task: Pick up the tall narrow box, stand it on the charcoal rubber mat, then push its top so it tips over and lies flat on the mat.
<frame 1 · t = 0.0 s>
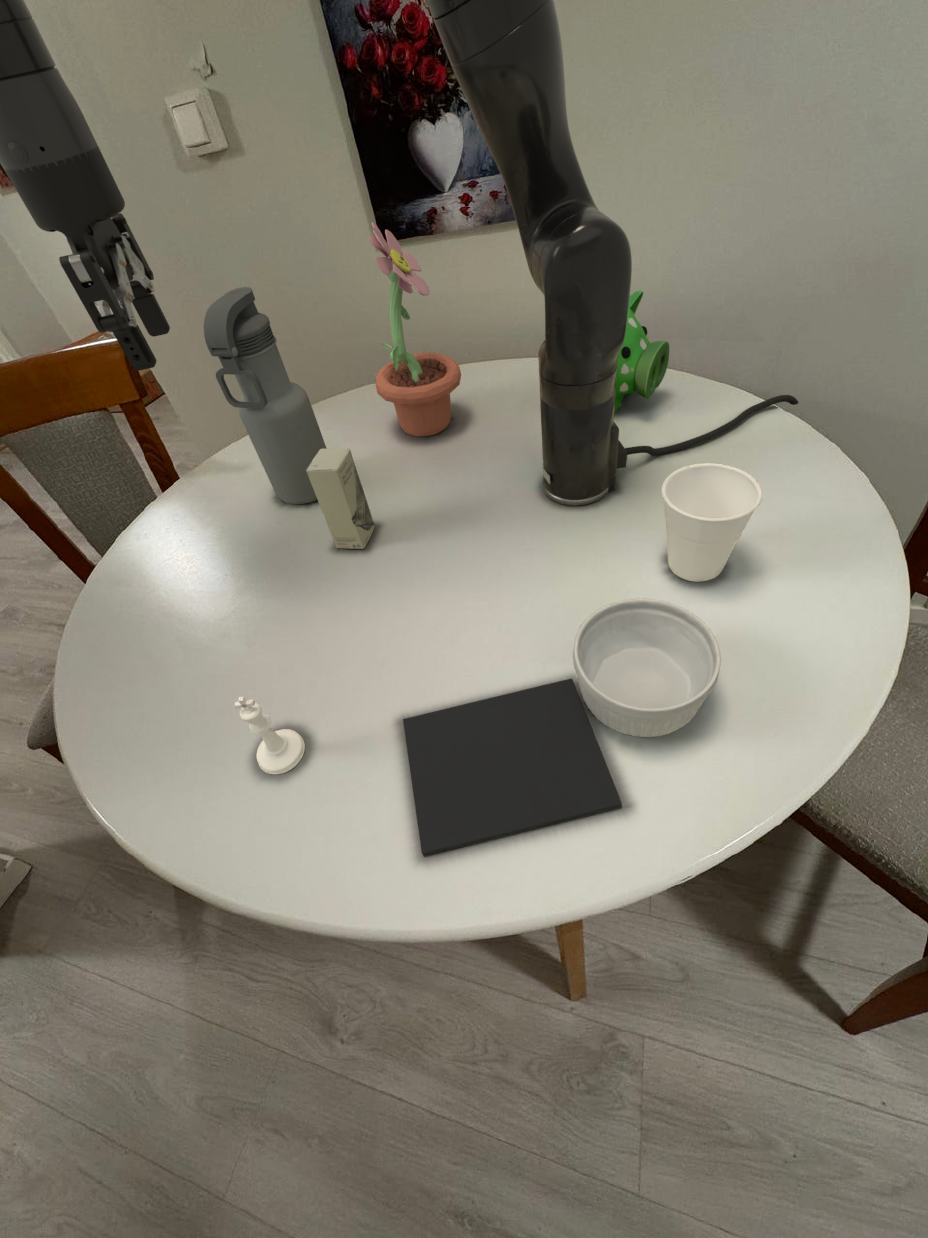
hand: (154, 349, 60), 29 cm above the table, tool pointing down, fingers open, 8 cm apart
piggy bank: (600, 401, 97), on the table
chess piece: (282, 753, 60), on the table
cup: (694, 566, 70), on the table
ramekin: (638, 693, 59), on the table
mat: (504, 761, 56), on the table
decorative flower: (427, 427, 99), on the table
box: (356, 538, 82), on the table
water bottle: (307, 489, 92), on the table
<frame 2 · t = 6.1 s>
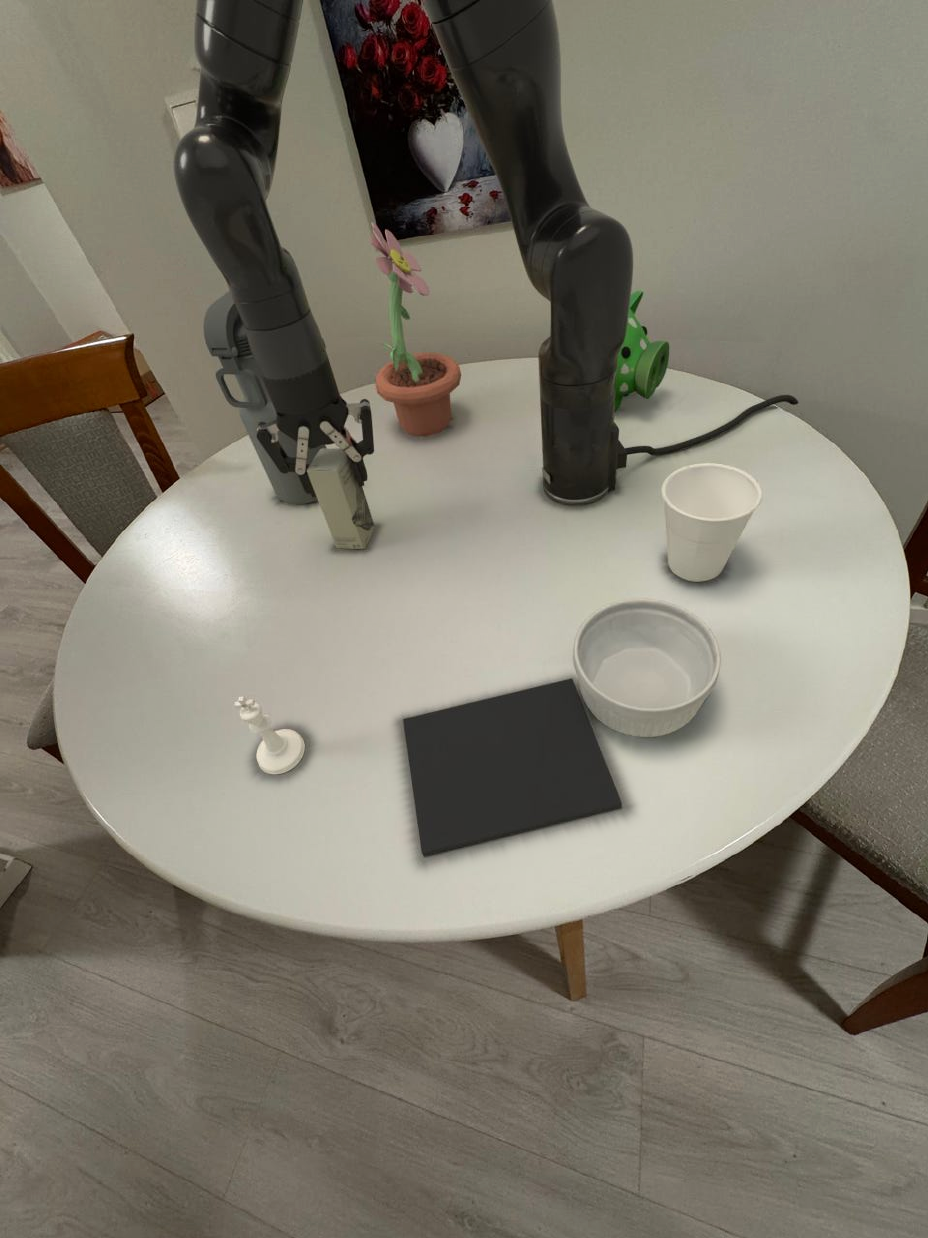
hand: (338, 487, 75), 8 cm above the table, tool pointing down, fingers closed on box, 5 cm apart
box: (356, 538, 82), on the table, touching gripper
everything else where it was.
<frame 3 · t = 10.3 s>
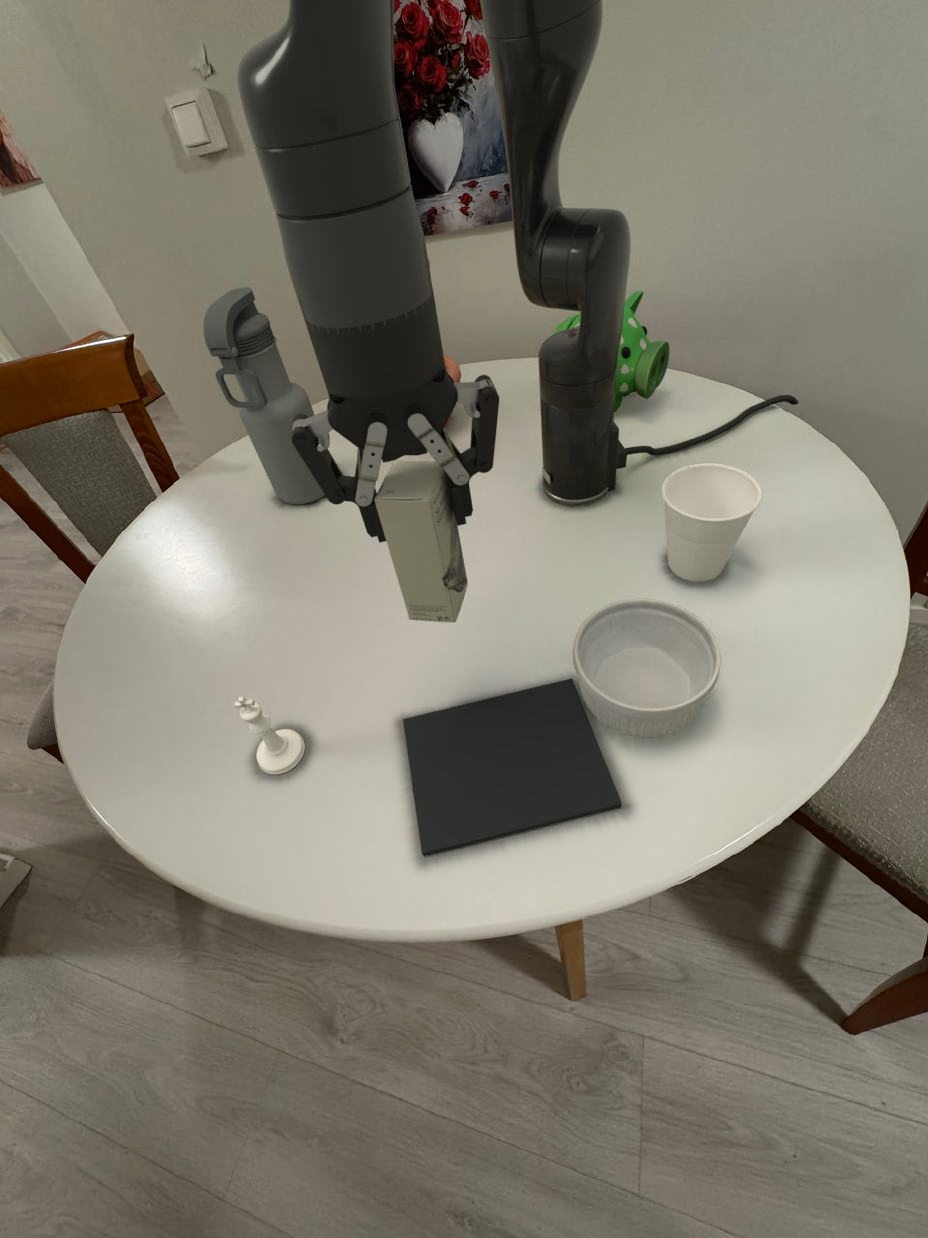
hand: (421, 526, 45), 23 cm above the table, tool pointing down, fingers closed on box, 5 cm apart
box: (439, 602, 52), point 14 cm above the table, touching gripper
everything else where it was.
when the fingers open (9 cm above the table, at t = 14.5 s): box stays where it is, resting on mat.
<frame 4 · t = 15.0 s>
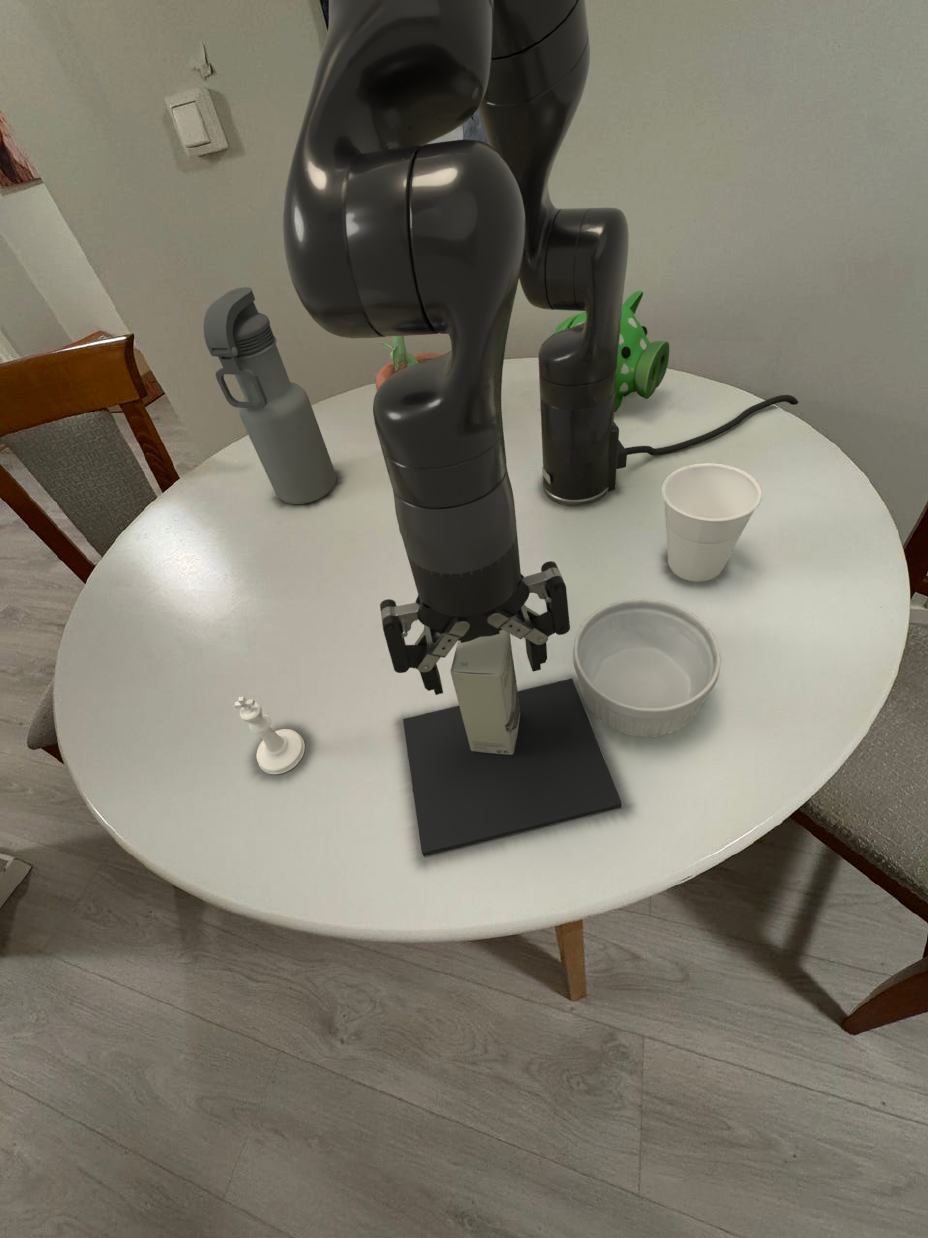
hand: (486, 674, 50), 10 cm above the table, tool pointing down, fingers open, 8 cm apart
box: (496, 731, 58), point 1 cm above the table, touching mat
everything else where it was.
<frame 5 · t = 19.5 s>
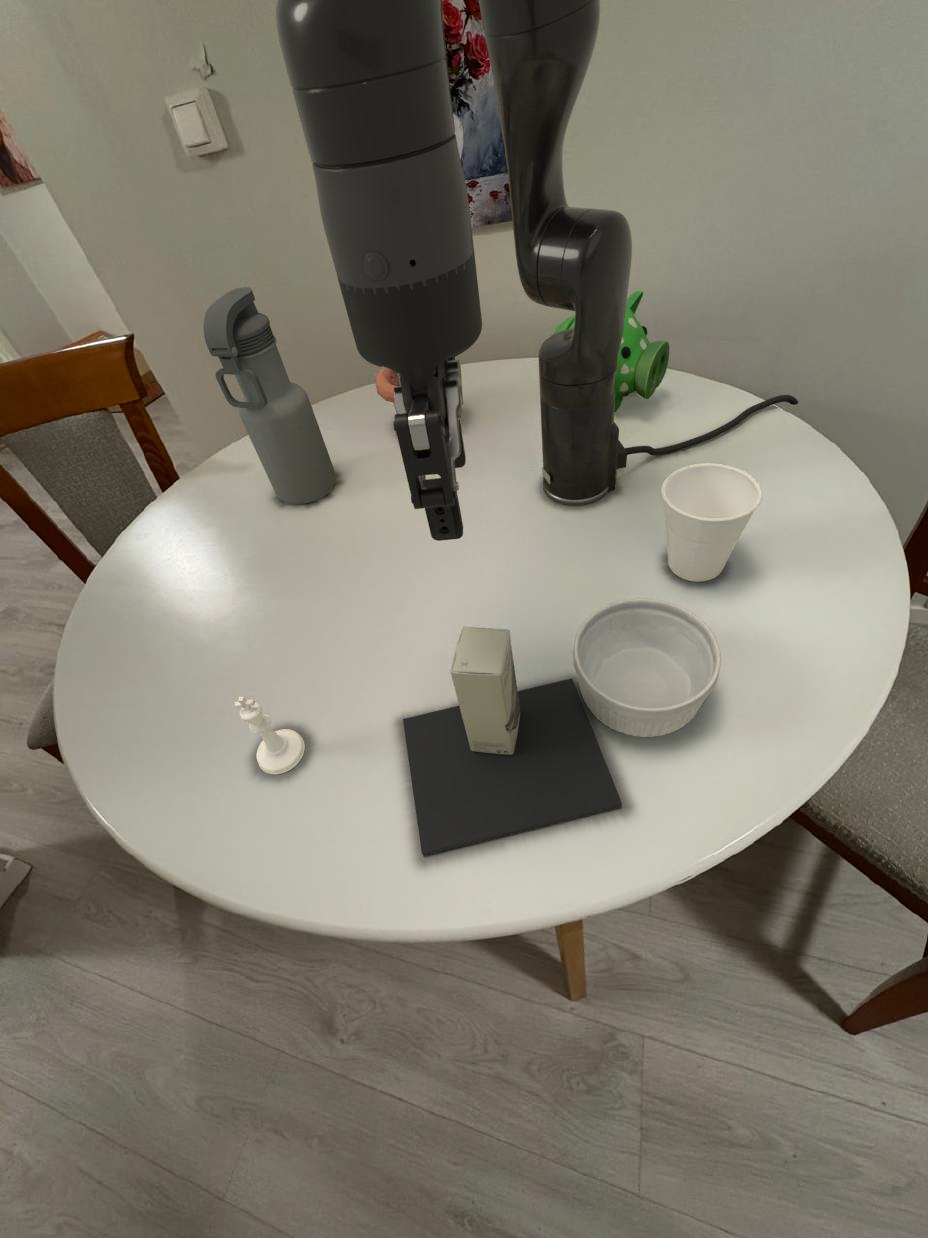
hand: (450, 498, 43), 25 cm above the table, tool pointing down, fingers open, 8 cm apart
nothing on the table moved.
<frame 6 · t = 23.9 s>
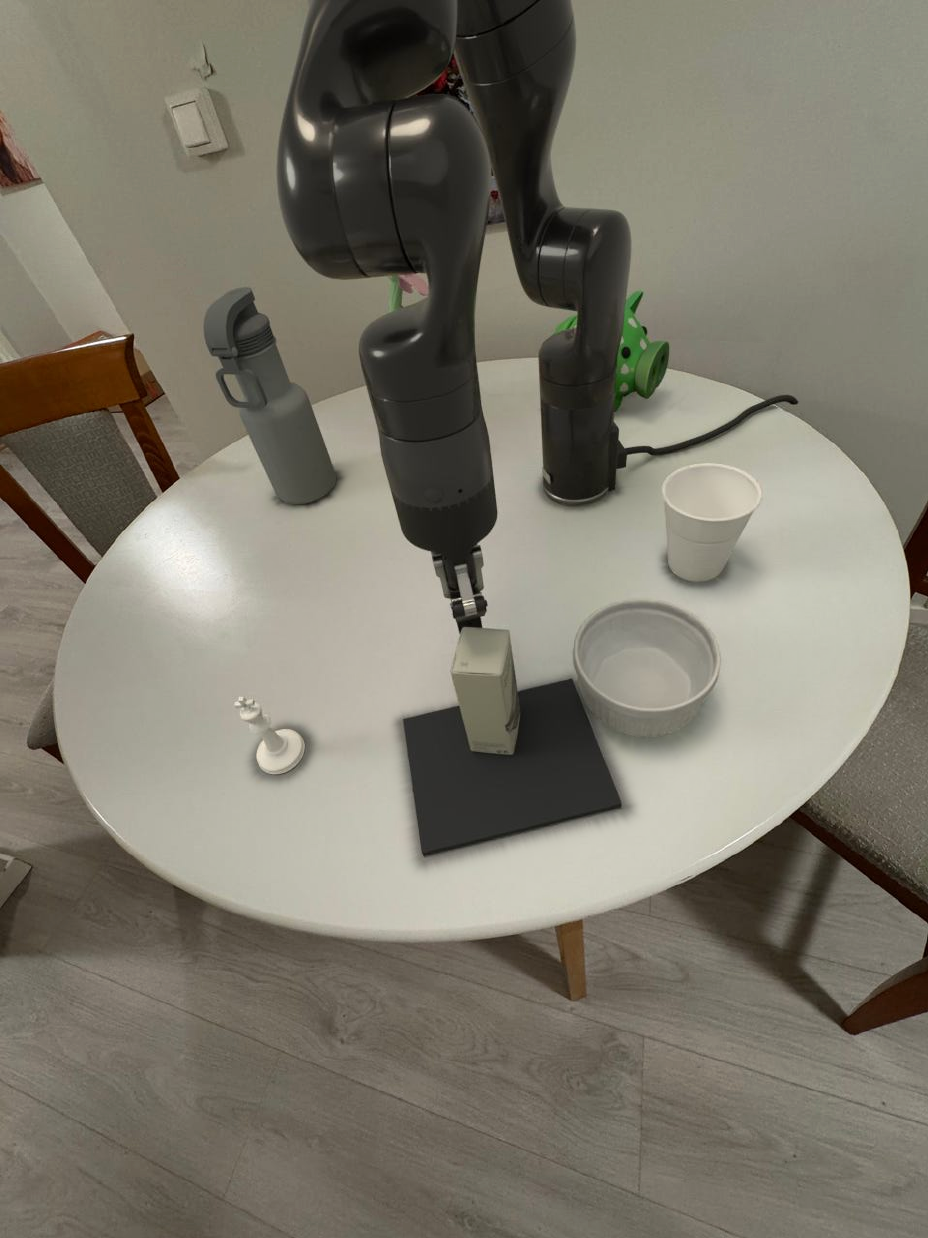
hand: (470, 628, 54), 10 cm above the table, tool pointing down, fingers closed
box: (496, 731, 58), point 1 cm above the table, touching gripper, mat
everything else where it was.
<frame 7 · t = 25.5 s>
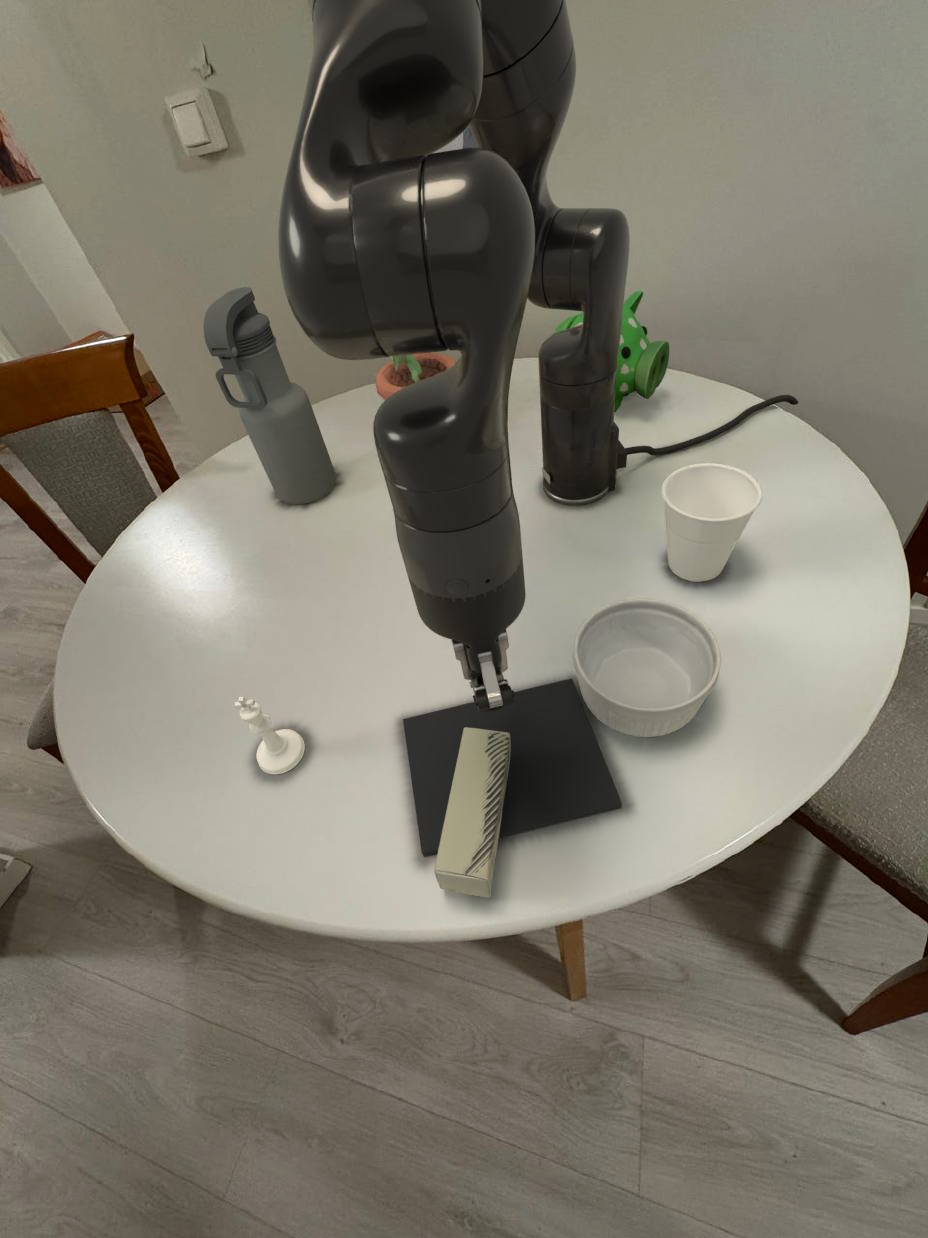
hand: (490, 703, 50), 9 cm above the table, tool pointing down, fingers closed
box: (487, 738, 54), point 4 cm above the table, touching mat
everything else where it was.
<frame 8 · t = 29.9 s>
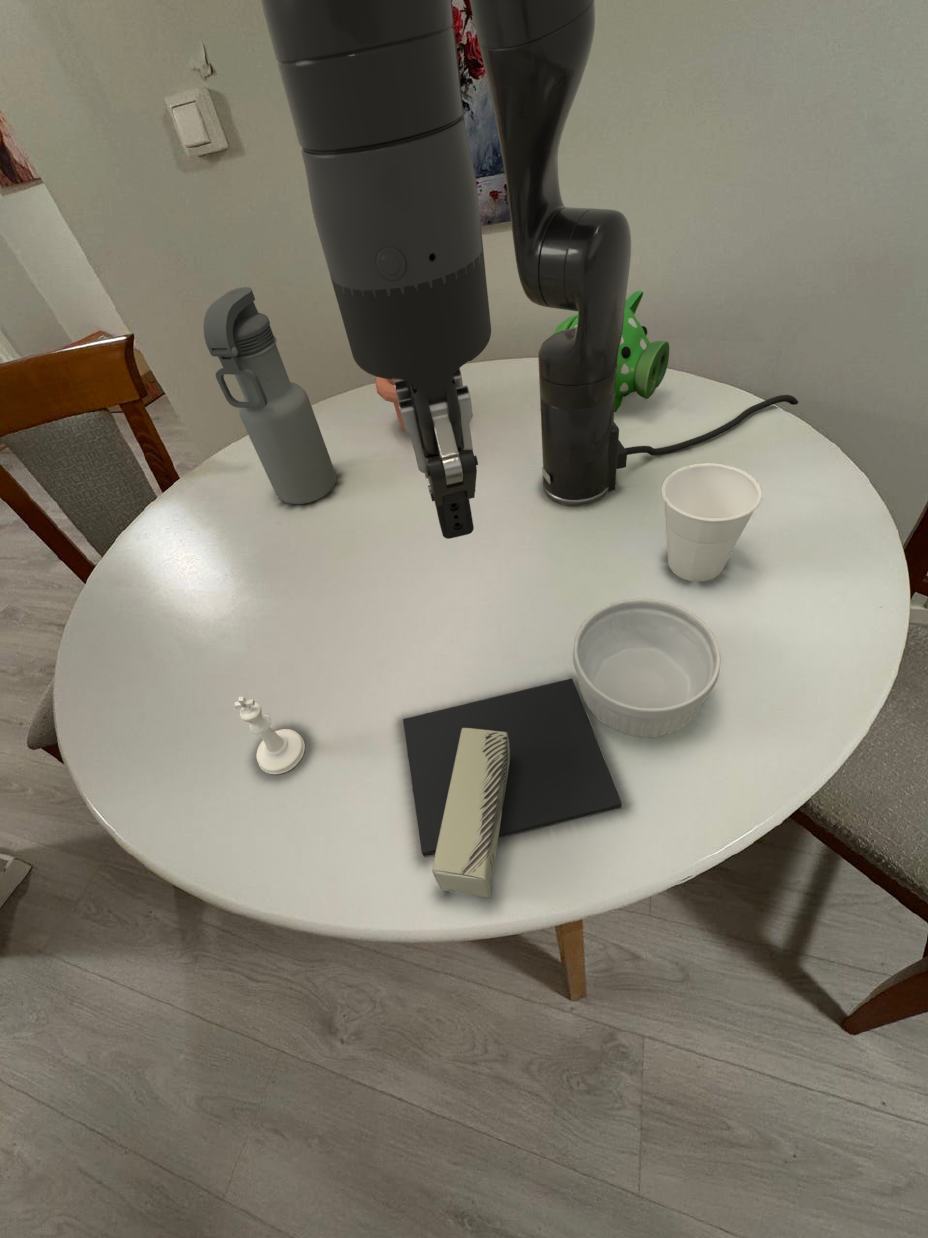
hand: (457, 529, 41), 25 cm above the table, tool pointing down, fingers closed
nothing on the table moved.
at the end: box tilted 92°; box inside the target area on the mat (1.8 cm from its centre), point 3.5 cm above the mat's base; the gripper is holding nothing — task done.
